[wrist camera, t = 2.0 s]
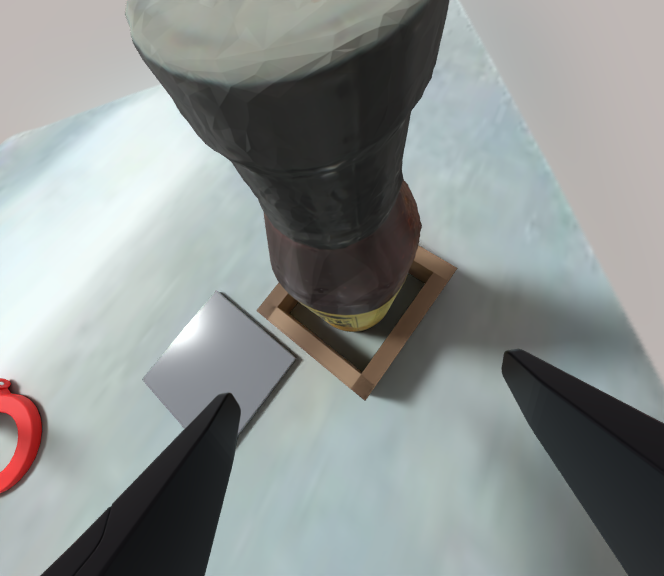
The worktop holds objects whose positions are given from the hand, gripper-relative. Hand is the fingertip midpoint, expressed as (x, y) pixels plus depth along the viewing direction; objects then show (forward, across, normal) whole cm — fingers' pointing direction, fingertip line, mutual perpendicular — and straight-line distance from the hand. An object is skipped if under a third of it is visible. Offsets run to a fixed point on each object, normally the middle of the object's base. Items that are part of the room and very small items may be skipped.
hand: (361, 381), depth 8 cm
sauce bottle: (+13, 0, +5) cm, 14 cm away
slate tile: (+10, +13, +8) cm, 18 cm away
